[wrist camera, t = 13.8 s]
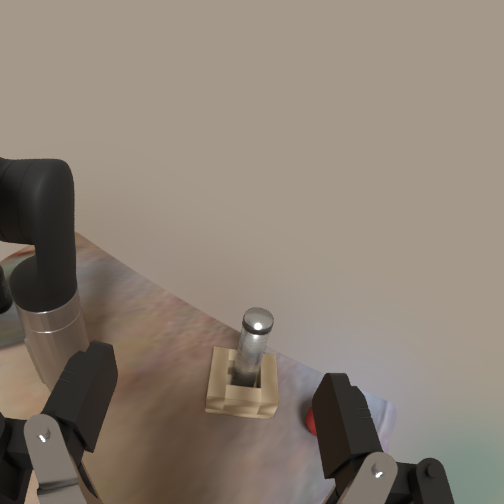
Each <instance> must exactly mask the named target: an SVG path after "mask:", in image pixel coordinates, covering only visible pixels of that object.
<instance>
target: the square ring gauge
mask: <svg viewBox="0 0 504 504" xmlns="http://www.w3.org/2000/svg"><path fill="white" fill-rule="evenodd" d="M236 354H237V350H234V349H227V348H221V347H214V351H213V358H212V365H211V371H210V378H209V385H208V392H207V399H206V408H205V412H210V413H217V414H224V415H232V416H241V417H251V418H263V419H272V418H273V415H274V413H275V411H276V409H277V407H278V404H279V398H278V383H277V368H276V355H275V354H266V353H264V354H263V357H262V361H261V364H260V367H259V370H258V374H257V377H256V380H255V383H254V387H253V388H251V387H242V386H234V385H230V382H231V377H232V373H233V368H234V363H235V359H236Z"/></svg>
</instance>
